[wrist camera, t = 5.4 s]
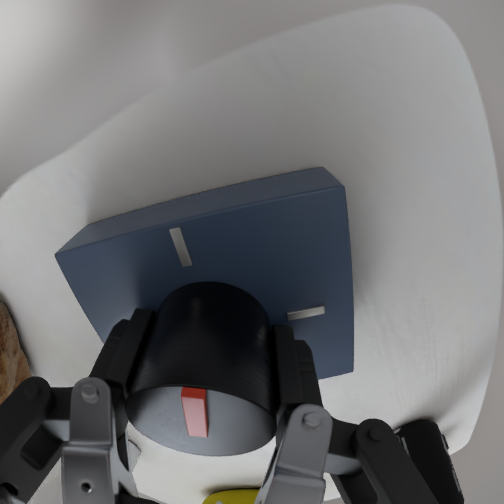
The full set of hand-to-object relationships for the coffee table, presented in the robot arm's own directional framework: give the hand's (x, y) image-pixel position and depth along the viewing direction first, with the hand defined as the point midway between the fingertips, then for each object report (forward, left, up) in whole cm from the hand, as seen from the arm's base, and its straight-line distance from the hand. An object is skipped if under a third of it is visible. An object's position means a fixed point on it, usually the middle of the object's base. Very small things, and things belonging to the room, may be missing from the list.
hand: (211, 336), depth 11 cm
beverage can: (+22, +13, -4) cm, 26 cm away
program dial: (0, 0, 0) cm, 0 cm away
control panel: (0, 0, -3) cm, 3 cm away
